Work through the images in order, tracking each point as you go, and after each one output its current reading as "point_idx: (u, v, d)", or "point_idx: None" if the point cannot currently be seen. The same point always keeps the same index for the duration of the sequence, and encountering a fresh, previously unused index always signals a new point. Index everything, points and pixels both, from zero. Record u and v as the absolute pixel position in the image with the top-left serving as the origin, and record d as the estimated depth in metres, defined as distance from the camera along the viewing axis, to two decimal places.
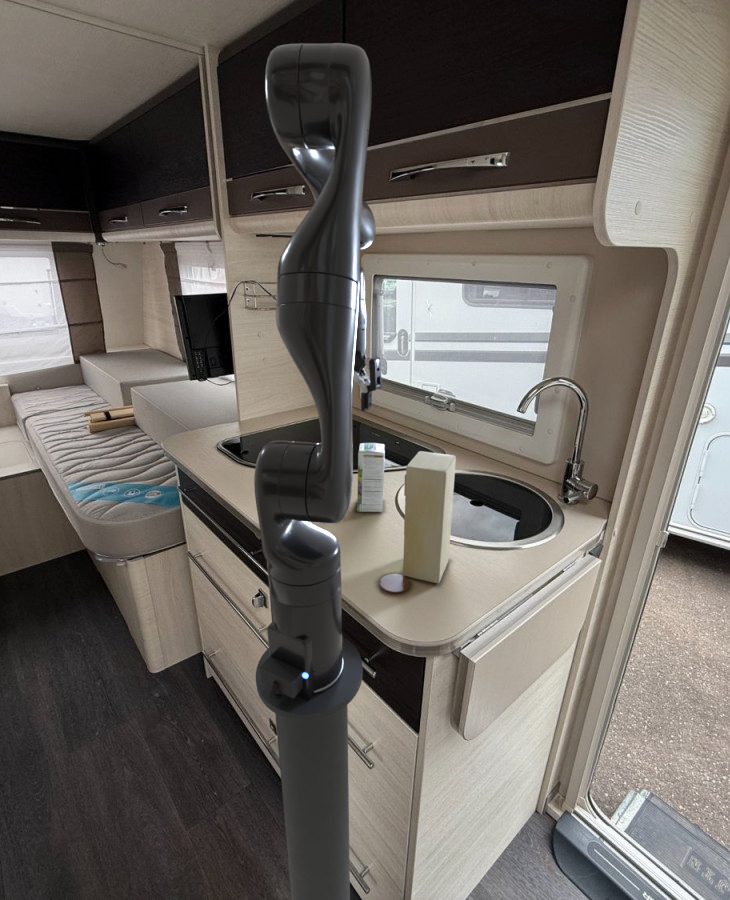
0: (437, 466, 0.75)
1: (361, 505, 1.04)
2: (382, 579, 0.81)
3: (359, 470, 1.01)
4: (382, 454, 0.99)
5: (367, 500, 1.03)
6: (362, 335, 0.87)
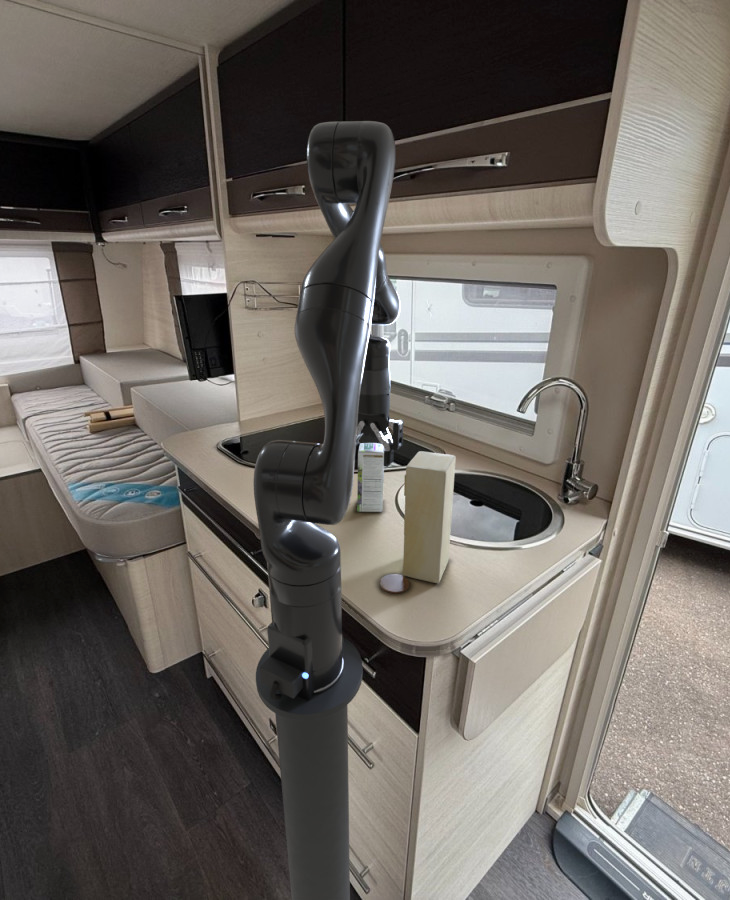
0: (437, 466, 0.75)
1: (361, 505, 1.04)
2: (382, 579, 0.81)
3: (359, 470, 1.01)
4: (382, 454, 0.99)
5: (367, 500, 1.03)
6: (387, 399, 0.96)
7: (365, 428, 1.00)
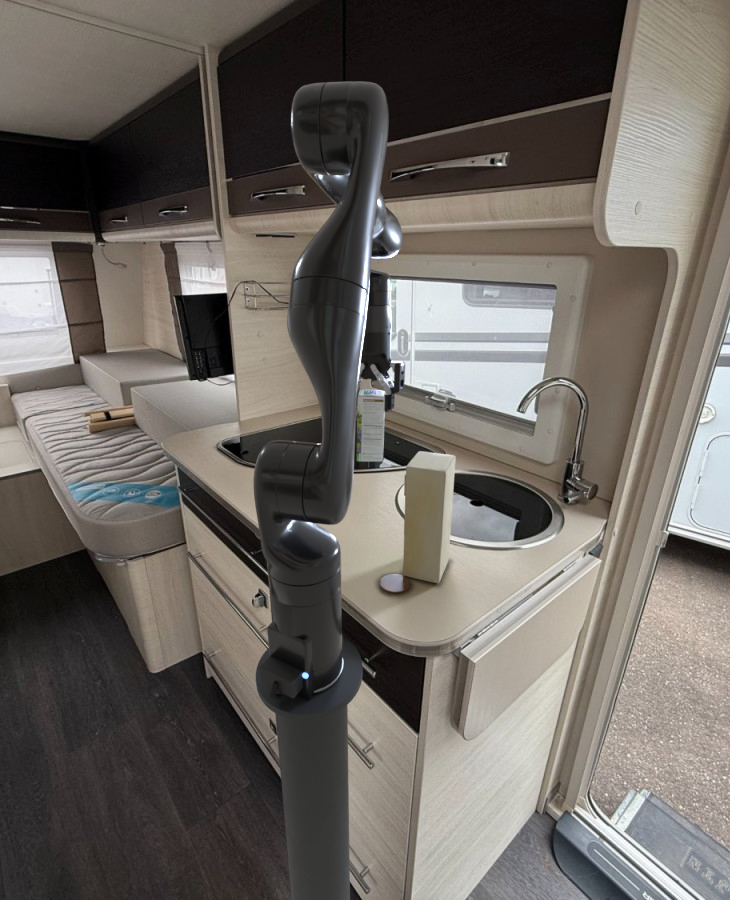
0: (437, 466, 0.75)
1: (361, 454, 0.99)
2: (382, 579, 0.81)
3: (358, 416, 0.96)
4: (382, 398, 0.95)
5: (367, 449, 0.99)
6: (388, 338, 0.91)
7: (365, 371, 0.95)
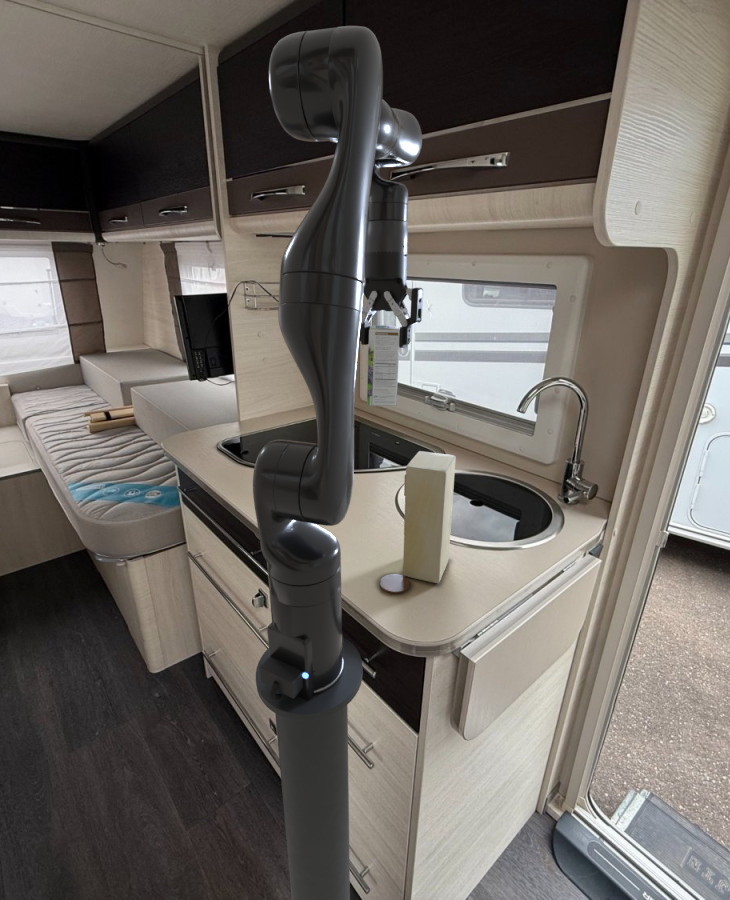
0: (437, 466, 0.75)
1: (372, 397, 0.88)
2: (382, 579, 0.81)
3: (370, 352, 0.85)
4: (397, 331, 0.84)
5: (379, 391, 0.88)
6: (404, 261, 0.81)
7: (377, 301, 0.84)
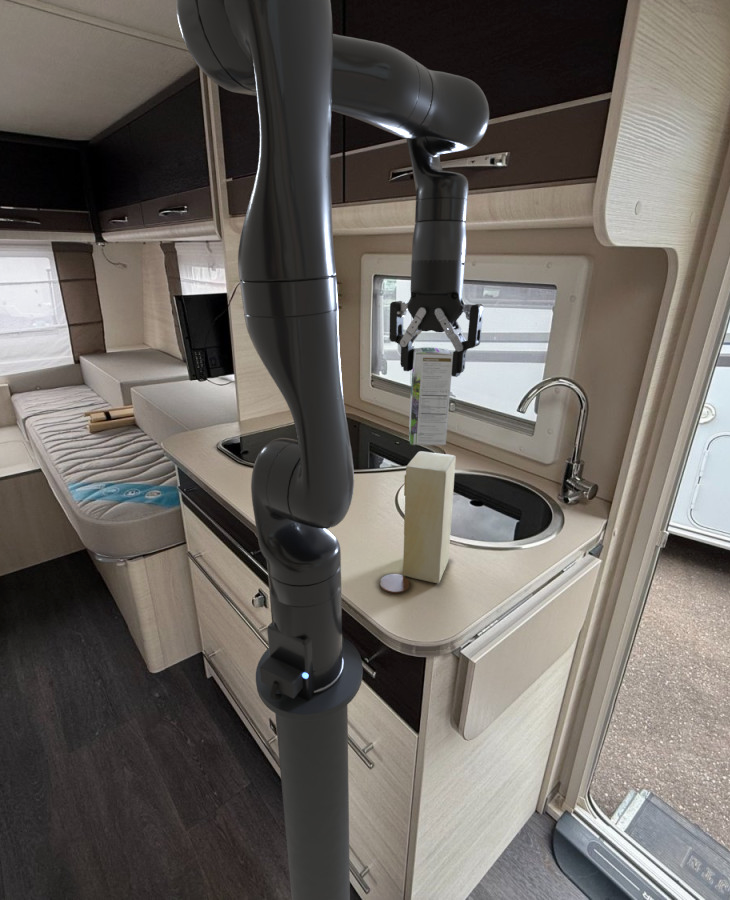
0: (437, 466, 0.75)
1: (417, 435, 0.73)
2: (382, 579, 0.81)
3: (415, 382, 0.70)
4: (450, 356, 0.69)
5: (425, 427, 0.72)
6: (462, 271, 0.65)
7: (426, 320, 0.69)
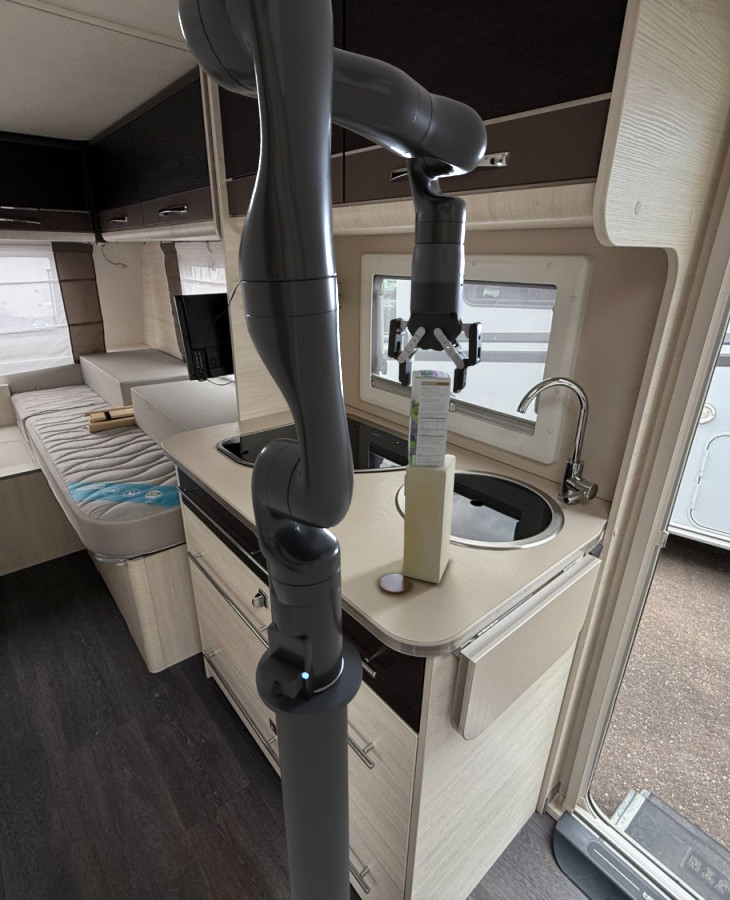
0: (437, 466, 0.75)
1: (416, 456, 0.74)
2: (382, 579, 0.81)
3: (414, 405, 0.71)
4: (448, 381, 0.70)
5: (424, 449, 0.74)
6: (460, 292, 0.66)
7: (425, 339, 0.70)
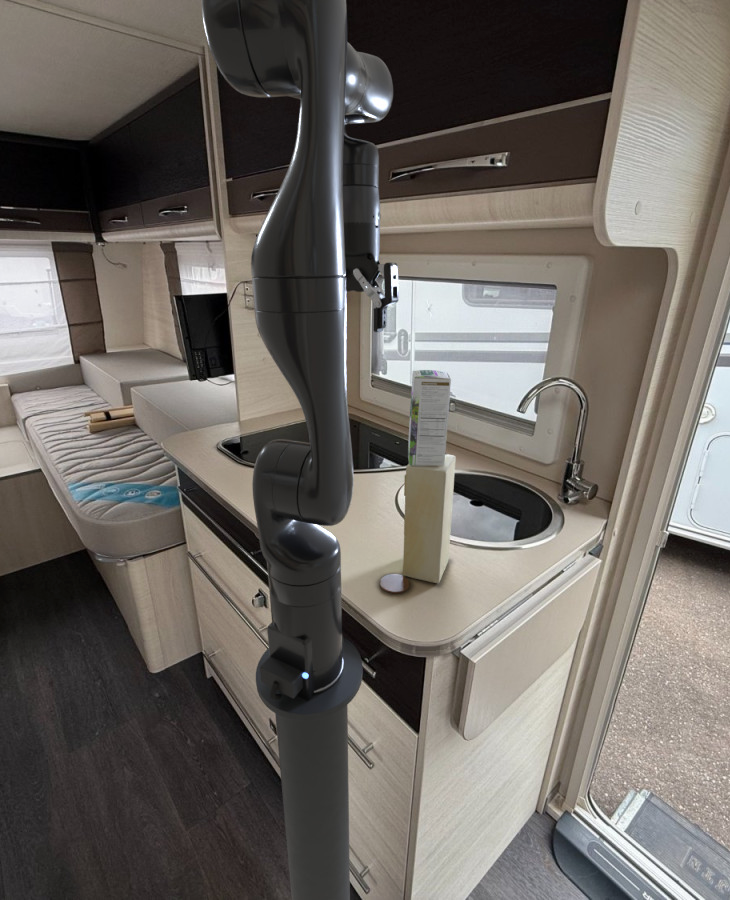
0: (437, 466, 0.75)
1: (416, 456, 0.74)
2: (382, 579, 0.81)
3: (414, 405, 0.71)
4: (448, 381, 0.70)
5: (424, 449, 0.74)
6: (376, 233, 0.71)
7: (347, 280, 0.75)
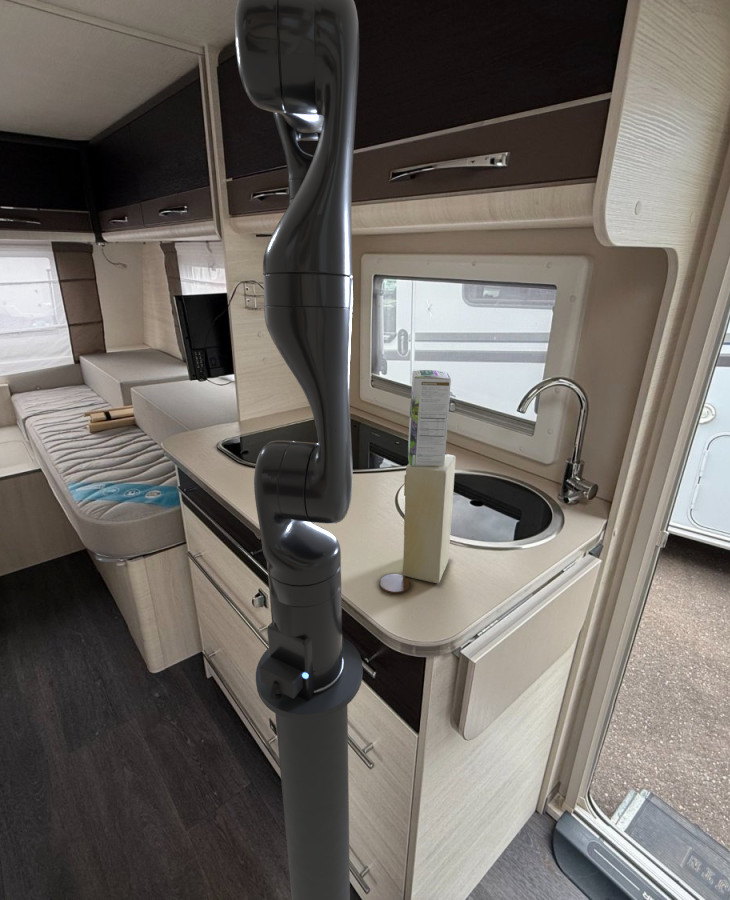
0: (437, 466, 0.75)
1: (416, 456, 0.74)
2: (382, 579, 0.81)
3: (414, 405, 0.71)
4: (448, 381, 0.70)
5: (424, 449, 0.74)
6: None
7: None
